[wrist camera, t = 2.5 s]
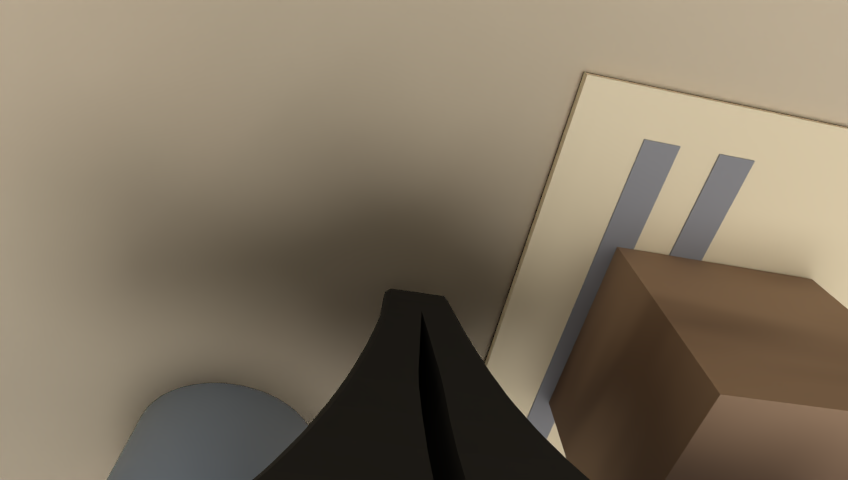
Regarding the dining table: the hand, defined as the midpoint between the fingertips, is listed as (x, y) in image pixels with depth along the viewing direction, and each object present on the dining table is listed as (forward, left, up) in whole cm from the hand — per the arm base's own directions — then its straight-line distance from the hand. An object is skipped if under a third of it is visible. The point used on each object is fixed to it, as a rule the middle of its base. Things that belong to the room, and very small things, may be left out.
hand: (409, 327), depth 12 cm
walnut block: (0, -7, -1) cm, 7 cm away
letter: (0, -7, -1) cm, 7 cm away
